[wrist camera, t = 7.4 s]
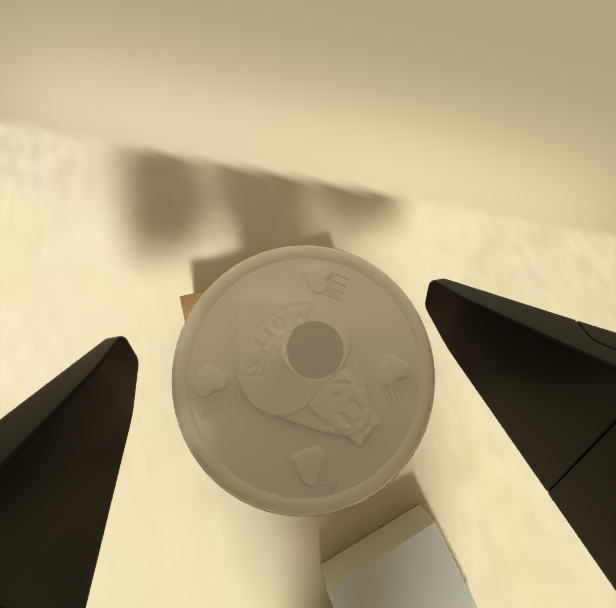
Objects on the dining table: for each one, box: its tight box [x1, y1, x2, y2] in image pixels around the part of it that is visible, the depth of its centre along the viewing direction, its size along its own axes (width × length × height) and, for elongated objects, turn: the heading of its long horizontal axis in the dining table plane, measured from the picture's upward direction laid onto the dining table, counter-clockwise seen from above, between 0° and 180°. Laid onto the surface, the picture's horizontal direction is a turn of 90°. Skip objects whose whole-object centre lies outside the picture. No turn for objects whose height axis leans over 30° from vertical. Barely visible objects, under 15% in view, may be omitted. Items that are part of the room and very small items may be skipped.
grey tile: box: [321, 504, 477, 608], centre depth 17 cm, size 7×7×2 cm
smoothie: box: [172, 245, 435, 516], centre depth 9 cm, size 6×6×14 cm
